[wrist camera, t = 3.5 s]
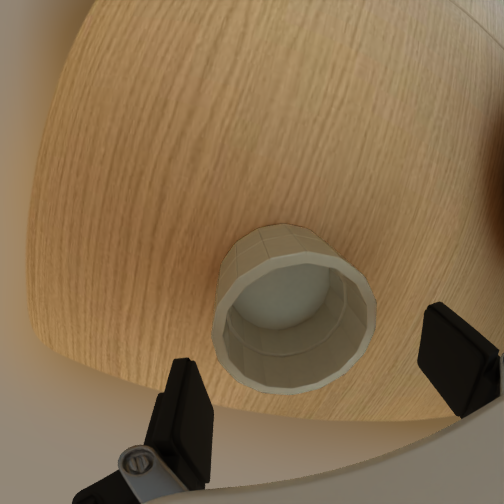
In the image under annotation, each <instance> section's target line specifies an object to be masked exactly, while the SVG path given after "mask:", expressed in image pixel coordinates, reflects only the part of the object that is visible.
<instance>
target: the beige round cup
mask: <svg viewBox="0 0 504 504" xmlns="http://www.w3.org/2000/svg"><path fill="white" fill-rule="evenodd" d="M375 328H376V299H375V297H374V295H373V292H372V290H371V288H370V286H369V284H368V282H367V279H366V277H365V276H364V275H363V274H362V273H361V272H360V271H359V270H358V269H356V268H355V267H354V266H353V265H352V264H351V263H350V262H349V261H348V260H346V259H345V258H344V257H343V256H342V255H341V254H340V253H339V252H337V251H336V250H335V249H334V248H333V247H332V246H331V245H329V244H328V243H327V242H326V241H325V240H323V239H322V238H321V237H319V236H318V235H316V234H315V233H314V232H312V231H311V230H309V229H308V228H303V227H299V226H294V225H290V224H285V223H284V224H278V225H272V226H267V227H261V228H258V229H256V230H254V231H252V232H251V233H249V234H248V235H246V236H245V237H243V238H241V239H240V240H238V241H237V242H236V243H235V244H234V245H233V247H232V248H231V250H230V251H229V252H228V254H227V255H226V257H225V258H224V260H223V261H222V264H221V266H220V271H219V276H218V281H217V287H216V295H215V304H214V312H213V321H212V331H211V338H212V341H213V345H214V348H215V351H216V355H217V358H218V361H219V362H220V364H221V365H222V366H223V367H224V368H225V369H226V370H227V371H228V372H229V373H230V375H231V376H232V377H233V378H234V379H235V380H236V381H238V382H239V383H241V384H243V385H246V386H248V387H250V388H252V389H255V390H257V391H259V392H263V393H270V394H282V395H294V394H299V393H303V392H308V391H312V390H316V389H319V388H321V387H323V386H325V385H327V384H329V383H330V382H332V381H334V380H336V379H338V378H339V377H341V376H343V375H344V374H345V373H346V372H347V371H348V370H349V369H350V368H351V367H352V366H353V365H354V364H355V363H356V362H357V361H358V360H359V359H360V358H361V357H362V356H363V354H364V353H365V351H366V349H367V347H368V345H369V342H370V340H371V338H372V336H373V334H374V331H375Z"/></svg>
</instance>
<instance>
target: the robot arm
mask: <svg viewBox="0 0 504 504" xmlns="http://www.w3.org/2000/svg"><path fill="white" fill-rule="evenodd" d="M498 353H499V349H497V348H496V347H495V346H494V345H493V344H492V343H491V342H489V341H488V340H487V339H486V338H485V337H484V336H482V335H481V334H480V333H479V332H478V331H477V330H475V329H474V328H473V327H472V326H471V325H469V324H468V323H467V322H466V321H465V320H463V319H462V318H461V317H460V316H458V315H457V314H456V313H455V312H454V311H452V310H451V309H450V308H449V307H447V306H446V305H445V304H443V303H442V302H437V303H434V304H431V305H429V306H428V307H427V309H426V310H425V312H424V319H423V327H422V334H421V341H420V347H419V353H418V359H417V362H418V366H419V368H420V369H421V370H422V371H423V373H424V374H425V375H426V377H427V378H428V379H429V380H430V382H431V383H432V384H433V386H434V387H435V388H436V390H437V391H438V392H439V393H440V395H441V396H442V397H443V399H444V400H445V401H446V403H447V404H448V405H449V407H450V408H451V410H452V411H453V412H454V414H455V415H456V416H460V418H461V420H459V421H458V422H456V423H454V424H452V425H450V426H448V427H446V428H444V429H442V430H440V431H438V432H436V433H434V434H432V435H430V436H428V437H425V438H423V439H421V440H418V441H416V442H414V443H412V444H409V445H407V446H405V447H402V448H399V449H397V450H395V451H392V452H389V453H386V454H384V455H381V456H378V457H375V458H372V459H369V460H366V461H363V462H360V463H356V464H353V465H350V466H346V467H343V468H339V469H336V470H332V471H328V472H323V473H320V474H315V475H310V476H306V477H301V478H295V479H290V480H284V481H278V482H271V483H264V484H257V485H249V486H240V487H228V488H217V489H205V483H209V482H210V471H211V452H212V437H213V421H214V410H213V407H212V404H211V401H210V399H209V396H208V394H207V391H206V389H205V386H204V384H203V381H202V378H201V376H200V373H199V370H198V368H197V365H196V362H195V361H191V360H190V359H189V358H179V359H174V360H173V363H172V367H171V370H170V374H169V377H168V381H167V384H166V388H165V391H164V393H159V394H158V396H157V399H156V402H155V406H154V410H153V413H152V416H151V420H150V423H149V427H148V430H147V434H146V438H145V442H144V445H135V446H132V447H130V448H128V449H126V450H125V451H124V452H123V453H122V454H121V455H120V457H119V460H118V468H119V470H117V471H115V472H114V473H112V474H110V475H109V476H107V477H105V478H104V479H102V480H100V481H98V482H96V483H94V484H92V485H91V486H89V487H87V488H85V489H83V490H81V491H80V492H78V493H77V494H76V495H75V497H74V498H73V501H72V504H504V353H503V354H502V355H501V357H500V356H499V355H498Z"/></svg>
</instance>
